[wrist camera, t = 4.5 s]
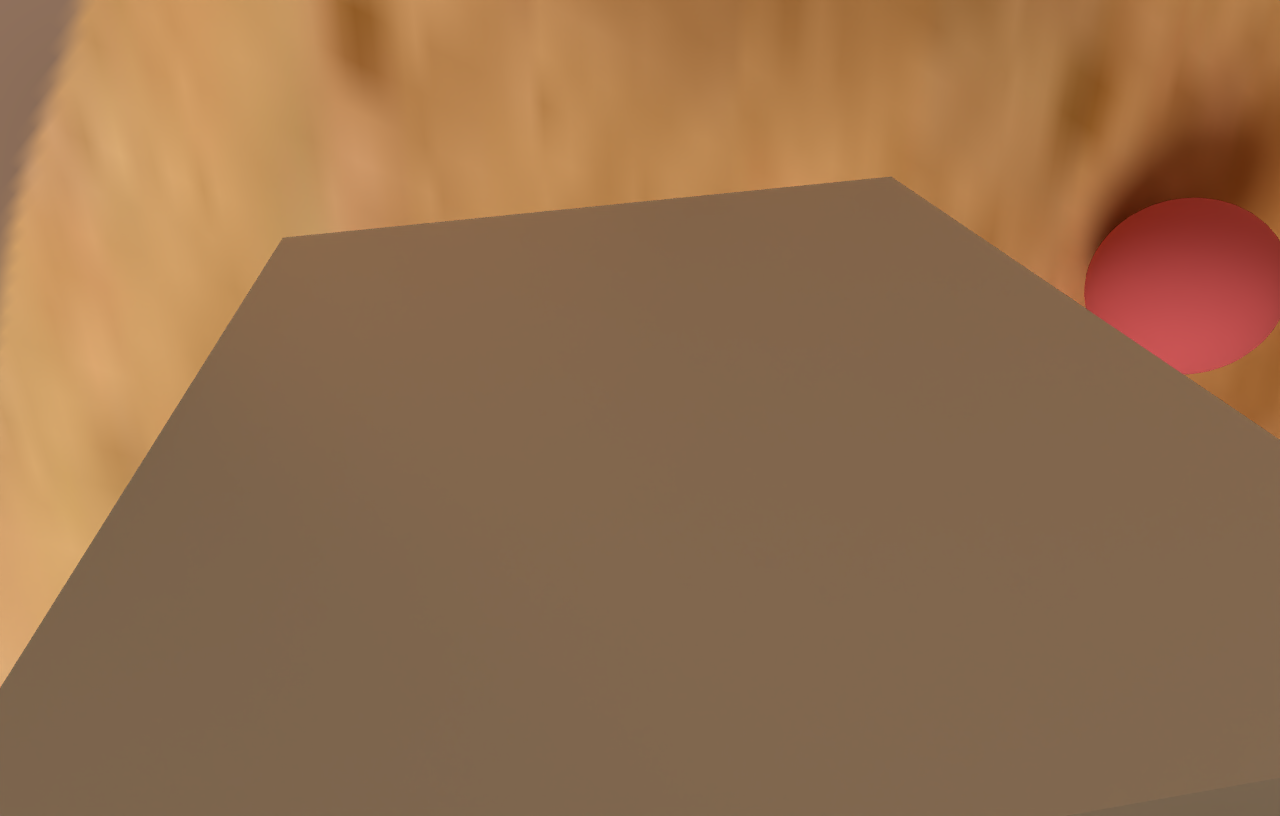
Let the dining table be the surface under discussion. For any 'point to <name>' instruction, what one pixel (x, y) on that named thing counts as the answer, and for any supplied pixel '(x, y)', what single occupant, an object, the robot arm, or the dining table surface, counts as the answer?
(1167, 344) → the ball
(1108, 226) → the dining table surface
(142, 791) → the matte cream cube
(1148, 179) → the dining table surface
